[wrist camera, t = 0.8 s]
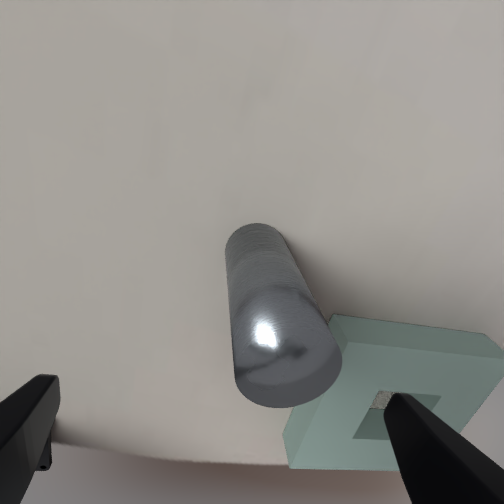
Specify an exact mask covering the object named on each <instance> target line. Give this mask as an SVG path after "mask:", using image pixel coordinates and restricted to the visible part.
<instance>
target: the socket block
mask: <svg viewBox="0 0 504 504" xmlns="http://www.w3.org/2000/svg"><path fill="white" fill-rule="evenodd" d="M328 327H329V329H330V331H331V332H332V334H333V336H334V338H335V340H336V342H337V344H338V346H339V348H340V350H341V353H342V368H341V371H340V374H339V376H338V378H337V379H336V381H335V382H334V384H333V385H332V386H331V387H330V388H329V389H328V390H327V391H326V392H325V393H323V394H322V395H320V396H319V397H317V398H316V399H314V400H312V401H309V402H307V403H304V404H302V405H298V406H294V408H293V411H292V413H291V415H290V418H289V420H288V423H287V425H286V427H285V430H284V432H283V439H284V444H285V449H286V453H287V458H288V463H289V468H290V469H336V470H338V469H339V470H382V471H400V470H399V467H398V464H397V461H396V458H395V455H394V451H393V448H392V445H391V442H390V438H389V435H388V432H387V429H386V425H385V422H384V418H383V413H384V410H385V409H370V406H371V404H372V402H373V401H374V399H375V397H376V395H377V394H378V392H379V391H390V392H402V393H407V394H410V395H411V396H413V397H414V398H415V399H416V400H418V401H419V402H420V403H421V404H423V405H424V406H425V407H426V408H428V409H429V410H430V411H431V412H433V413H434V414H435V415H436V416H438V417H439V418H440V419H441V420H443V421H444V422H445V423H446V424H448V425H449V426H450V427H451V428H453V429H454V430H455V431H456V432H458V433H460V432H461V431H462V429H463V428H464V427H465V426H466V424H467V423H468V422H469V420H470V419H471V418H472V416H473V415H474V414H475V413H476V411H477V410H478V409H479V407H480V406H481V405H482V404H483V402H484V401H485V400H486V398H487V397H488V396H489V394H490V393H491V392H492V391H493V389H494V388H495V387H496V385H497V384H498V383H499V382H500V380H501V379H502V378H503V376H504V350H502V349H501V348H500V347H499V346H498V345H497V344H495V343H494V342H493V341H492V340H491V339H490V338H488V337H487V336H486V335H485V334H480V333H473V332H465V331H457V330H450V329H442V328H435V327H427V326H419V325H412V324H404V323H397V322H389V321H382V320H374V319H366V318H359V317H351V316H344V315H336V314H333V315H332V317H331V320H330V322H329V324H328Z"/></svg>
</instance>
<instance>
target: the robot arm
mask: <svg viewBox="0 0 504 504" xmlns="http://www.w3.org/2000/svg"><path fill="white" fill-rule="evenodd" d="M59 405H60V386H59V378H58V376H57V375H49V374H39V375H37V376H35V377H34V378H32V379H31V380H30V381H28V382H27V383H26V384H24V385H23V386H22V387H20V388H19V389H18V390H16V391H15V392H14V393H12V394H11V395H10V396H8V397H7V398H6V399H4V400H3V401H2V402H0V504H20V503H21V501H22V499H23V497H24V494H25V492H26V490H27V488H28V486H29V484H30V482H31V479H32V477H33V474H34V472H35V471H46V470H48V469H49V468H50V466H51V464H52V455H51V435H50V430H51V427H52V425H53V422H54V419H55V417H56V414H57V412H58V409H59ZM383 418H384V422H385V425H386V429H387V432H388V435H389V438H390V442H391V445H392V448H393V451H394V455H395V458H396V461H397V464H398V467H399V470H400V473H401V476H402V479H403V482H404V484H405V487H406V490H407V492H408V494H409V497H410V500H411V502H412V504H504V469H502V468H501V467H500V466H499V465H497V464H496V463H495V462H494V461H492V460H491V459H490V458H489V457H487V456H486V455H485V454H484V453H482V452H481V451H480V450H479V449H477V448H476V447H475V446H474V445H472V444H471V443H470V442H469V441H468V440H466V439H465V438H464V437H462V436H461V435H460V434H459V433H458V432H456V431H455V430H454V429H453V428H451V427H450V426H449V425H448V424H446V423H445V422H444V421H443V420H441V419H440V418H439V417H438V416H436V415H435V414H434V413H433V412H431V411H430V410H429V409H428V408H426V407H425V406H424V405H423V404H421V403H420V402H419V401H418V400H416V399H415V398H414V397H413V396H411V395H410V394H407V393H395V394H393V395H392V397H391V399H390V401H389V402H388V404H387V406H386V408H385V410H384V413H383Z"/></svg>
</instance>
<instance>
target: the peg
mask: <svg viewBox="0 0 504 504" xmlns="http://www.w3.org/2000/svg"><path fill="white" fill-rule="evenodd" d="M225 259H226V271H227V284H228V297H229V310H230V323H231V336H232V349H233V362H234V375H235V382H236V384H237V387H238V389H239V390H240V392H241V393H242V394H243V395H244V396H245V397H246V398H247V399H249V400H250V401H252V402H254V403H256V404H259V405H262V406H266V407H272V408H288V407H294V406H298V405H302V404H304V403H307V402H309V401H312V400H314V399H316V398H317V397H319V396H320V395H322V394H323V393H325V392H326V391H327V390H328V389H329V388H330V387H331V386H332V385H333V384H334V382H335V381H336V379H337V378H338V376H339V374H340V371H341V368H342V353H341V350H340V348H339V346H338V344H337V342H336V340H335V338H334V336H333V334H332V332H331V331H330V329H329V327H328V325H327V323H326V321H325V319H324V317H323V315H322V313H321V311H320V309H319V307H318V305H317V303H316V301H315V299H314V297H313V296H312V294H311V292H310V290H309V288H308V286H307V284H306V282H305V280H304V278H303V276H302V274H301V272H300V270H299V268H298V266H297V264H296V262H295V261H294V259H293V257H292V255H291V253H290V251H289V249H288V247H287V245H286V243H285V241H284V239H283V237H282V236H281V234H280V233H279V232H278V231H277V230H276V229H274V228H273V227H271V226H269V225H266V224H261V223H254V224H248V225H245V226H243V227H241V228H239V229H238V230H236V231H235V232H234V233H233V234H232V235H231V236H230V238H229V240H228V242H227V244H226V248H225Z"/></svg>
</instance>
